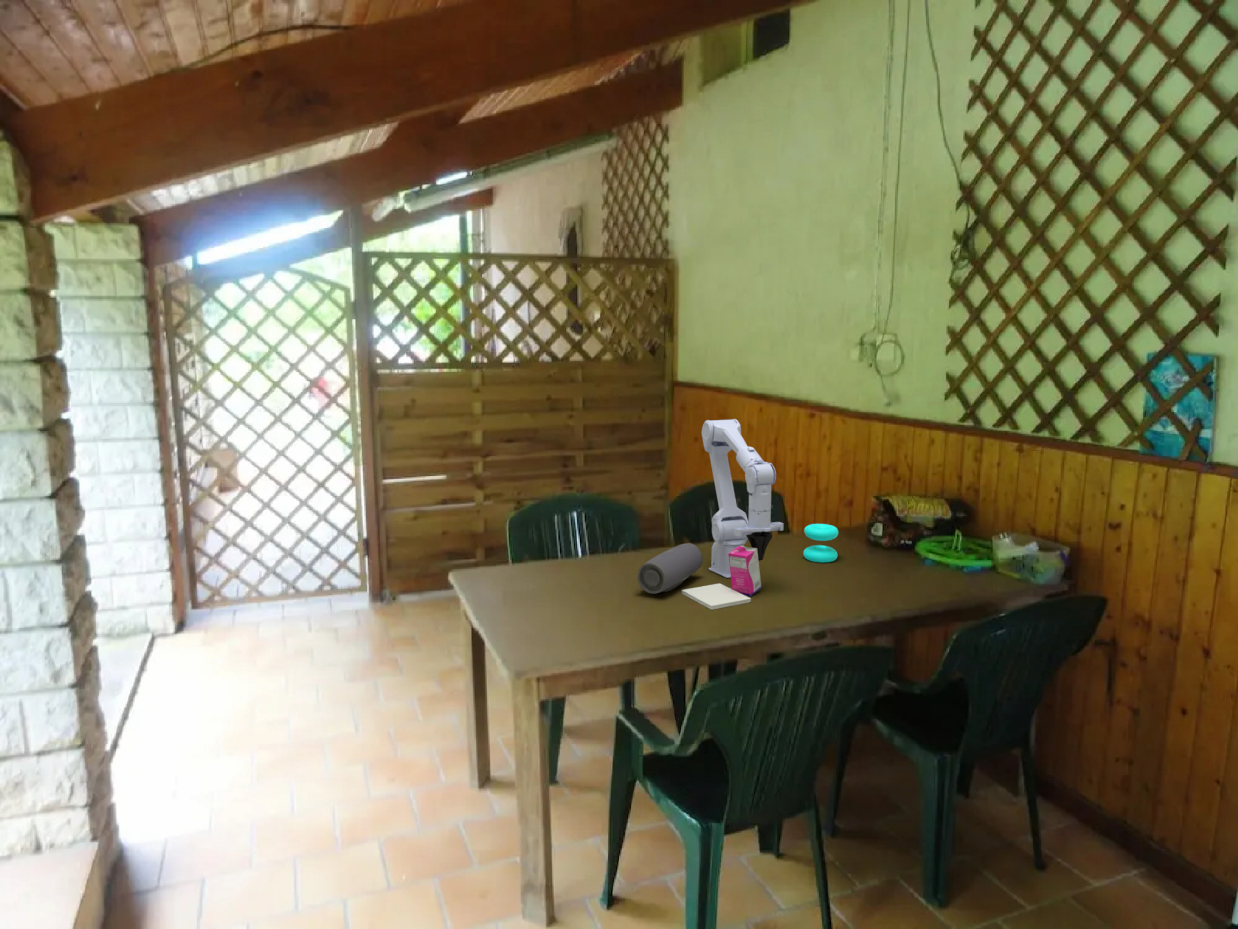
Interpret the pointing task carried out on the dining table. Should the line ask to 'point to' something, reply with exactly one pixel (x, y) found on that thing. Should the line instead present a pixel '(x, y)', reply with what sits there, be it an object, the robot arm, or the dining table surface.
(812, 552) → the donuts
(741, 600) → the mat
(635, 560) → the dining table surface
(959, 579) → the dining table surface
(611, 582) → the dining table surface
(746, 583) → the supplement box
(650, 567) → the bluetooth speaker
